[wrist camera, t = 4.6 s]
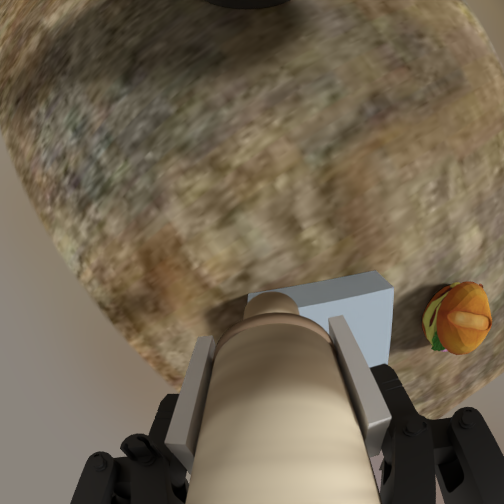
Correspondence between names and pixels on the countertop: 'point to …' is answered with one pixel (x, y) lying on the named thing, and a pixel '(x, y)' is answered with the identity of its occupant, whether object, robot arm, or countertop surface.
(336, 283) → the board
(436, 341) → the cheeseburger
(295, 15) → the countertop surface
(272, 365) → the peg
